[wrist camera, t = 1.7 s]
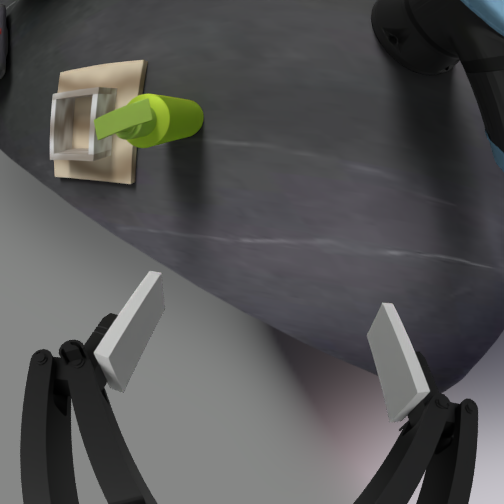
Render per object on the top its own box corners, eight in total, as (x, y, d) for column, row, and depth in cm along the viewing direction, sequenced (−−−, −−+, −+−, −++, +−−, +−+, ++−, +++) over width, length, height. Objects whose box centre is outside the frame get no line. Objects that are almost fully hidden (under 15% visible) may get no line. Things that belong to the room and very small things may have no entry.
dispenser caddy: (65, 72, 31) (41, 72, 25) (147, 61, 31) (127, 54, 25) (59, 174, 40) (37, 184, 34) (135, 181, 40) (114, 193, 34)
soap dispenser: (213, 131, 36) (155, 144, 18) (170, 141, 37) (88, 167, 19) (206, 93, 33) (141, 74, 16) (162, 105, 34) (75, 106, 17)
